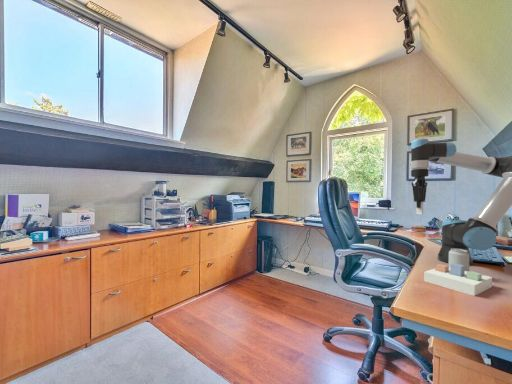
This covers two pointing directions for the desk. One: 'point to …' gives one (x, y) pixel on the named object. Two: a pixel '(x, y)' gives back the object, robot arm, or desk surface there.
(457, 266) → the slate button
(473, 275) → the sage button
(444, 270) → the terracotta button
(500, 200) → the robot arm
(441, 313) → the desk surface
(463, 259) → the can
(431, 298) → the desk surface
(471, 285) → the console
